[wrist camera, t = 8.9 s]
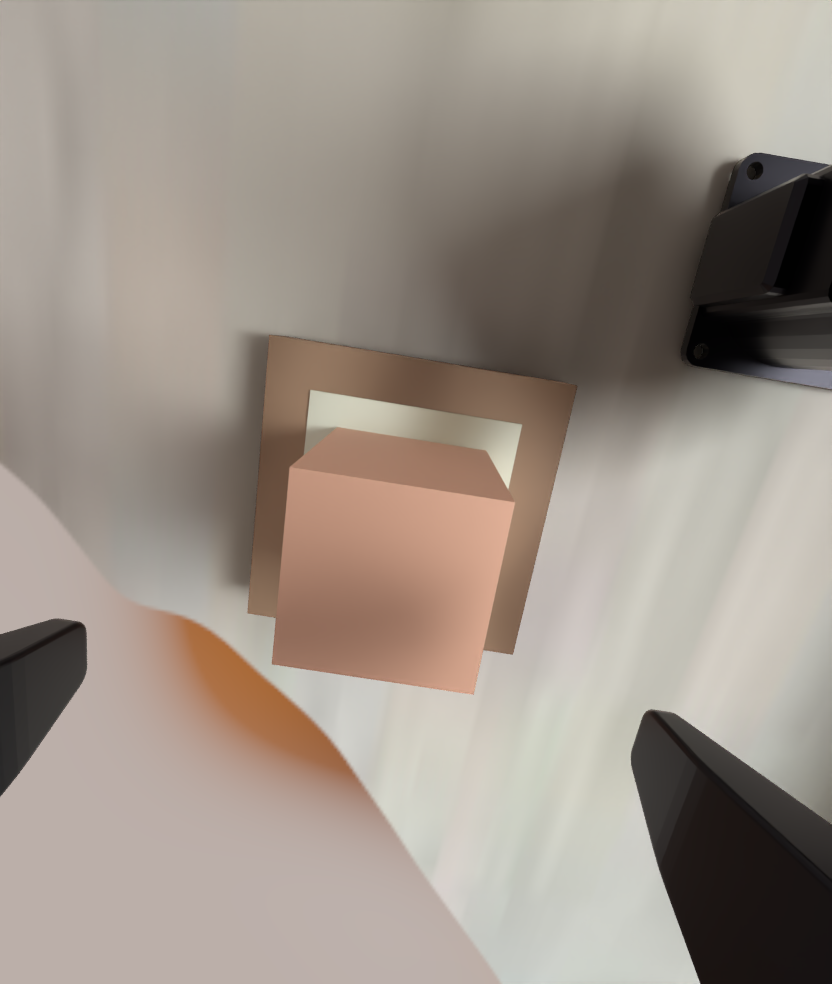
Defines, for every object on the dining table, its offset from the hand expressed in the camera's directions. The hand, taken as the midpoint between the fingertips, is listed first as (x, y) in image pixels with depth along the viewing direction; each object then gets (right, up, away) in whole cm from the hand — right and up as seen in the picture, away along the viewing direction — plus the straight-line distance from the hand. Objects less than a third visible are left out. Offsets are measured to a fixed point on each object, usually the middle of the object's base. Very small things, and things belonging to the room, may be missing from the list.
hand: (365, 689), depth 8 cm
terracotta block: (0, +3, +10) cm, 10 cm away
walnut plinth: (0, +3, +12) cm, 12 cm away
